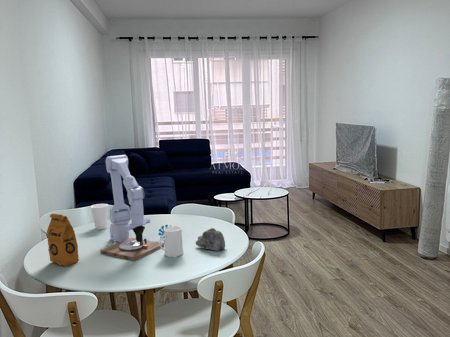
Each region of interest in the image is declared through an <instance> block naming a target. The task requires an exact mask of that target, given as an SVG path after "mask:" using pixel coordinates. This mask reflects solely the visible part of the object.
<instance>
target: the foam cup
mask: <svg viewBox="0 0 450 337" xmlns="http://www.w3.org/2000/svg"><path fill="white" fill-rule="evenodd" d="M90 210H91V214H92V215H91V216H92V219H93V223H94V227H95V229H96V230H104V229H107V228H108V220H109V204H108V203H96V204H92V205H91V206H90Z"/></svg>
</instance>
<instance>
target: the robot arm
mask: <svg viewBox="0 0 450 337" xmlns="http://www.w3.org/2000/svg"><path fill="white" fill-rule="evenodd" d="M105 168H106V169H105V170H106V171H107V172H106V173H108V174H109V175H110V179H111V181H110V182H111V185H112V186H111V188H112V195H113V196H112V197H113V202H114V204H113V205H112V207H110V208H109V220H110V222H111V223H110V226H109V234H110V238H109V241H112V242H116V243H118V242H121V241H123V240H126V239H128V238H130V237H131V238H134V237H133V236H130V231H131V230H132V231H133V233H134V236H135V238H136V241H137V242H142V235H143V233H144V231H145V229H146V228H145V225H146V224H150V223H151V219H150V218H145V215H144V203H143V202H144V201H143V200H144V199H145V190H144V187H142V186H140V185H139V183H138V182H137V180H136V178H135V176H133V175H131V173H130V170H129V158H128V155H126V154H120V155H110V156H109V155H108V156H107V157H106V158H105ZM122 178H123V180H122ZM123 185H124V188H125V189H126V192H127V199H128V204H129V205H130V206H129V205H127V204H126V203H125V199H124V193H123V191H124V189H123ZM130 222H131V223H130Z"/></svg>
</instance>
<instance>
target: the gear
mask: <svg viewBox="0 0 450 337" xmlns="http://www.w3.org/2000/svg"><path fill="white" fill-rule="evenodd" d="M170 226H172V225H168V224H165V225H162V226H161V228H159V229H158V236H160V237H159V238H160V239H161V237H162V236H163V235H164V228H166V227H170ZM163 239H164V237H163Z"/></svg>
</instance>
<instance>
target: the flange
mask: <svg viewBox="0 0 450 337" xmlns="http://www.w3.org/2000/svg"><path fill="white" fill-rule="evenodd" d="M143 240H144V238H143V234H142V242H137V241H136V240H130V241H126V242H123V243H121V244H120V245H119V247H120V249H121V250H125V251H132V250H138V249H141V248H147V247H148V245H145V242H144V241H143Z"/></svg>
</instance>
